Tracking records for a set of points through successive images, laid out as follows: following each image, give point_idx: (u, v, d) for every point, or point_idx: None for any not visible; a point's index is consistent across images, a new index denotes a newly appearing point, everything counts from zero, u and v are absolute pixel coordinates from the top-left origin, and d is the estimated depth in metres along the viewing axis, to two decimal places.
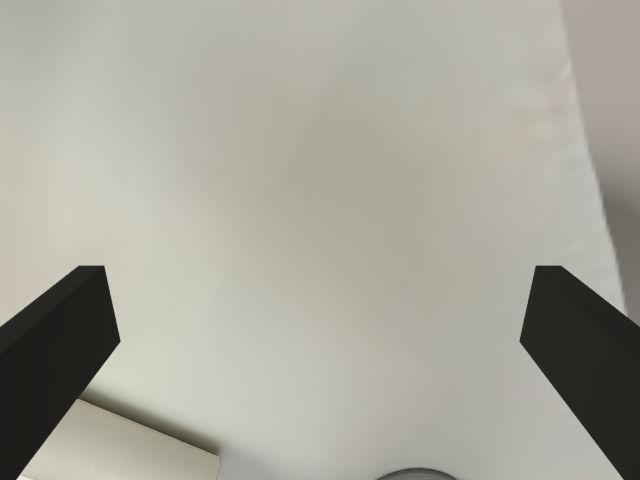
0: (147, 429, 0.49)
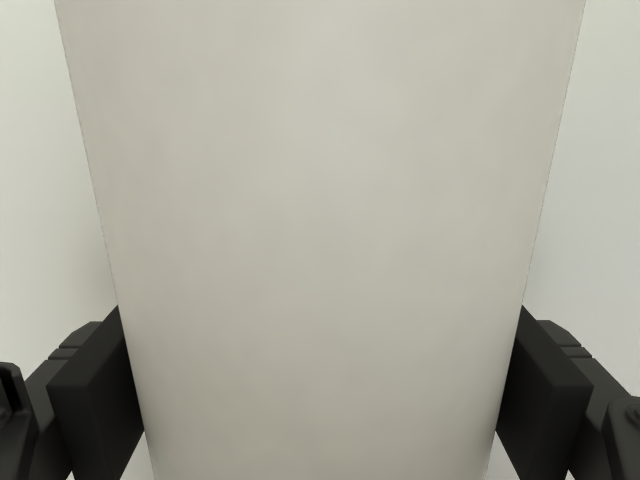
0: None
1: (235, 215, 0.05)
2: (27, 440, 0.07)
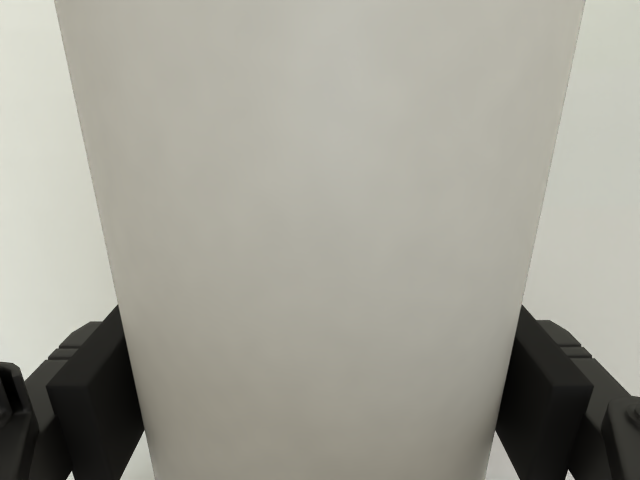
0: None
1: (236, 212, 0.05)
2: (27, 440, 0.07)
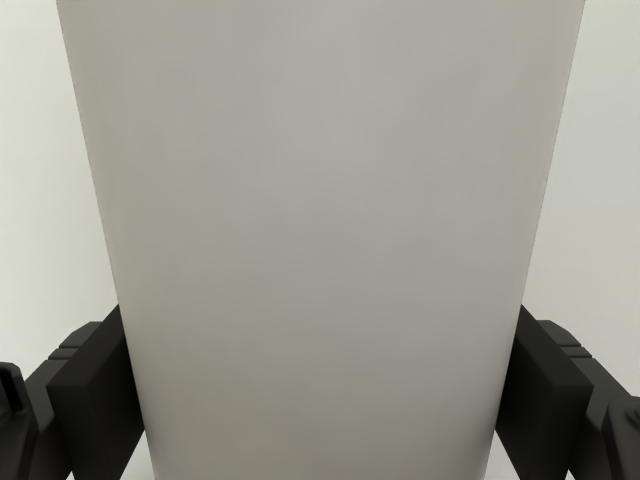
0: None
1: (235, 211, 0.05)
2: (27, 440, 0.07)
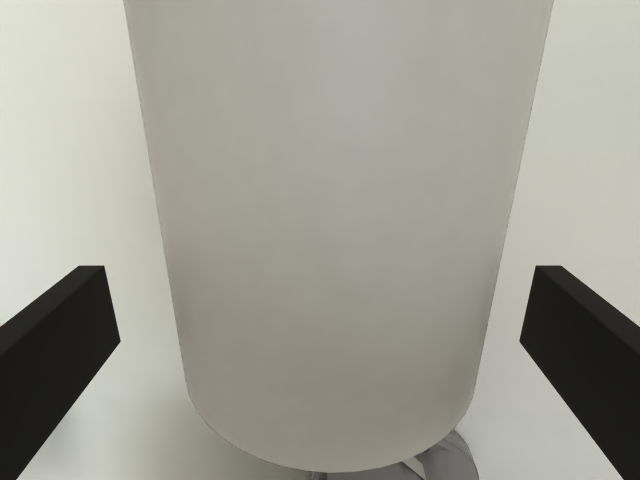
0: None
1: (268, 24, 0.05)
2: None
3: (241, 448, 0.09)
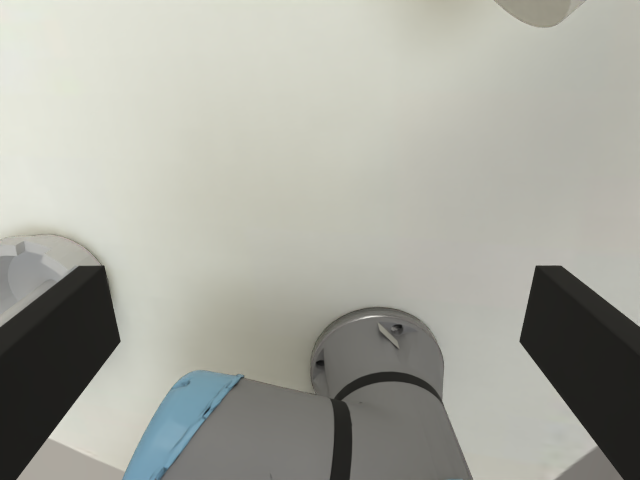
0: None
1: None
2: None
3: None
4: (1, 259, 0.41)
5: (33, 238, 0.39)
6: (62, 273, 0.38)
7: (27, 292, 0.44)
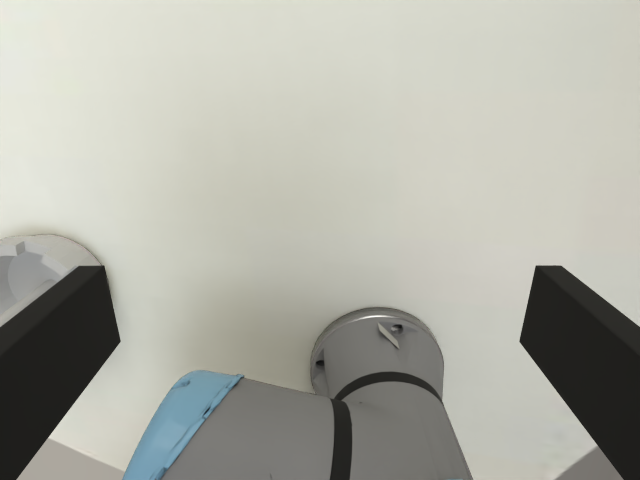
0: None
1: None
2: None
3: None
4: (1, 259, 0.41)
5: (33, 238, 0.39)
6: (62, 273, 0.38)
7: (27, 292, 0.44)
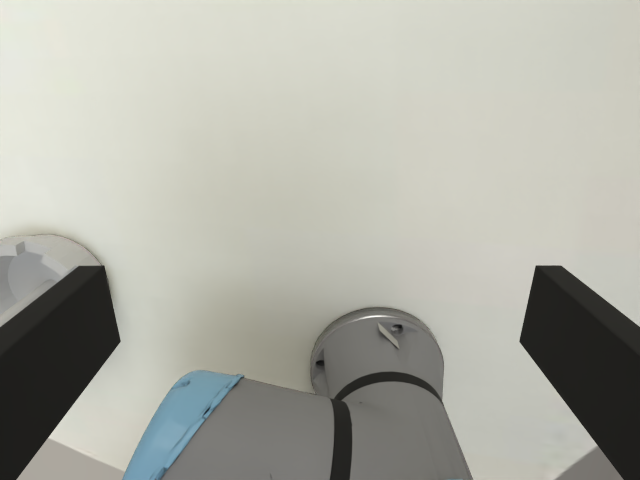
0: None
1: None
2: None
3: None
4: (1, 259, 0.41)
5: (33, 238, 0.39)
6: (62, 273, 0.38)
7: (27, 292, 0.44)
